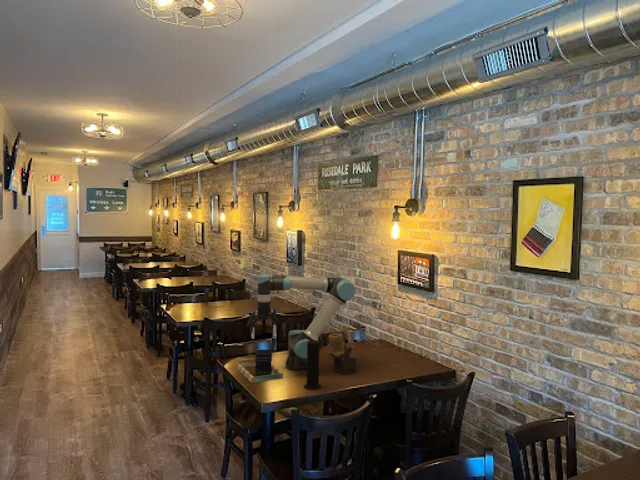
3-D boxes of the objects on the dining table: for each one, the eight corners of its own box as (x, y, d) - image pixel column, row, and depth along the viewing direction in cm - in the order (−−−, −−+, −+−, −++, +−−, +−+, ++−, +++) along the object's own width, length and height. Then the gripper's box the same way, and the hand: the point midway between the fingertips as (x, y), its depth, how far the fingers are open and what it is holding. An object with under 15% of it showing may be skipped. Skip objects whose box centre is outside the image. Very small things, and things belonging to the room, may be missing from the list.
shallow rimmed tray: (236, 368, 293) (236, 360, 293) (265, 364, 302) (265, 356, 302) (252, 383, 268) (252, 374, 267) (283, 378, 276) (283, 370, 276)
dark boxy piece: (331, 370, 292) (332, 341, 291) (345, 367, 298) (346, 339, 297) (347, 377, 279) (348, 347, 278) (362, 374, 286) (362, 345, 285)
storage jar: (269, 373, 285) (269, 348, 284) (273, 378, 276) (274, 353, 275) (253, 375, 282) (253, 350, 281) (257, 380, 272) (257, 354, 272)
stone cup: (325, 353, 327) (325, 332, 326) (339, 351, 333) (340, 330, 332) (336, 359, 314) (337, 337, 313) (351, 357, 320) (352, 335, 319)
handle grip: (320, 383, 269) (303, 383, 268) (321, 337, 268) (303, 337, 267) (322, 390, 259) (304, 390, 258) (323, 342, 258) (304, 342, 257)
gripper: (281, 298, 285) (280, 333, 287) (241, 301, 274) (241, 337, 275) (286, 300, 279) (285, 336, 280) (245, 303, 267) (245, 340, 268)
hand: (263, 337), depth 278 cm, fingers open, 13 cm apart
